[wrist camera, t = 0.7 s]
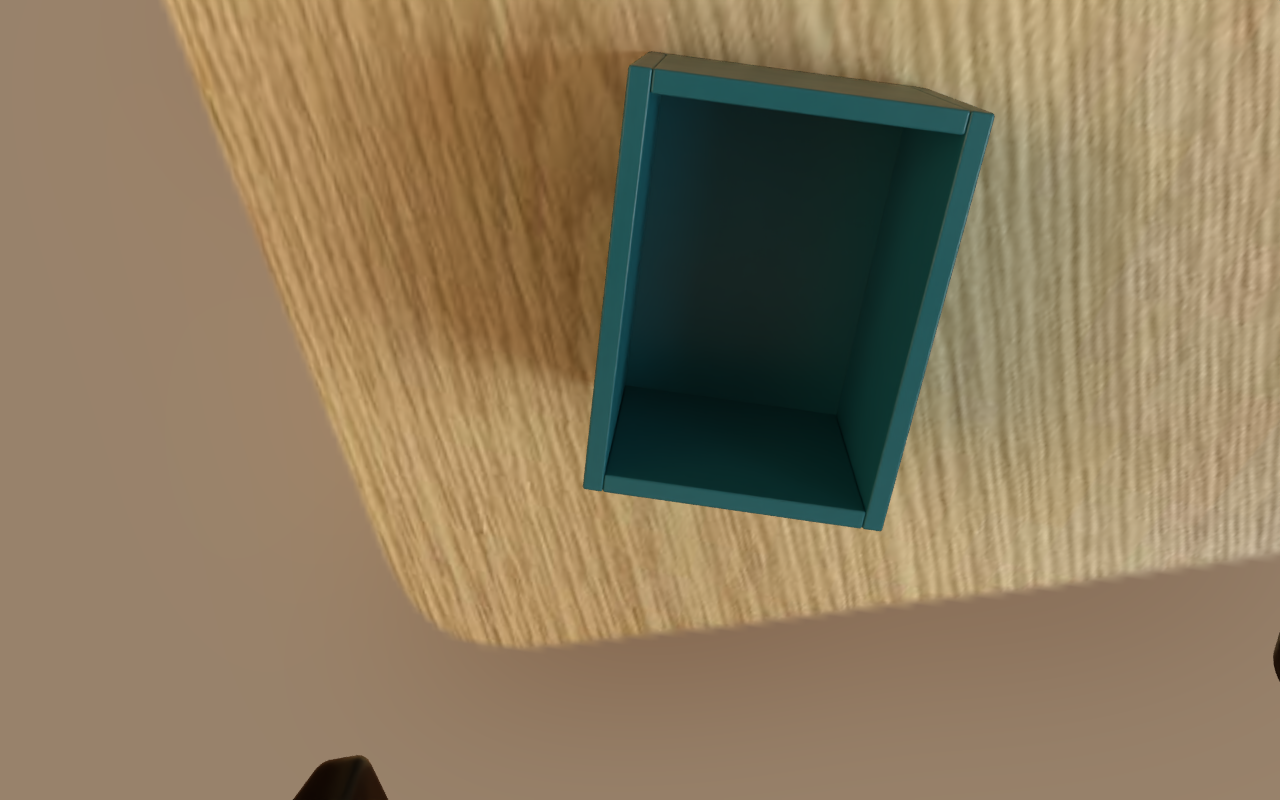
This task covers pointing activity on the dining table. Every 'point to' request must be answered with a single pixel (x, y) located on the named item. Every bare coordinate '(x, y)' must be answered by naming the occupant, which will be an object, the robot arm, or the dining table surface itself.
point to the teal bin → (774, 285)
